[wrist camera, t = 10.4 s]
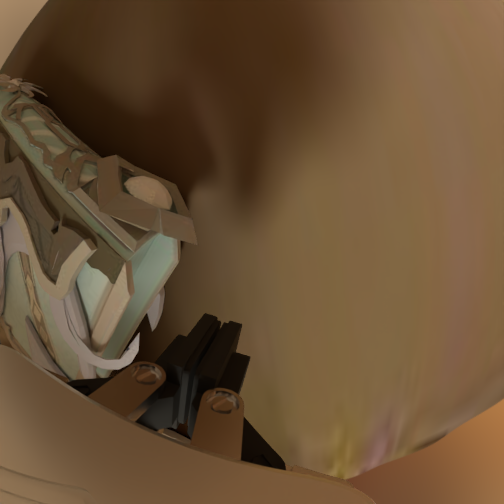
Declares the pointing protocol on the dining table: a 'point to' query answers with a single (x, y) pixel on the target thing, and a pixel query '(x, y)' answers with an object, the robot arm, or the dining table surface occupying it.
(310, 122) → the dining table surface
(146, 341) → the dining table surface
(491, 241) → the dining table surface
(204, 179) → the dining table surface
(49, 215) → the ornate book
